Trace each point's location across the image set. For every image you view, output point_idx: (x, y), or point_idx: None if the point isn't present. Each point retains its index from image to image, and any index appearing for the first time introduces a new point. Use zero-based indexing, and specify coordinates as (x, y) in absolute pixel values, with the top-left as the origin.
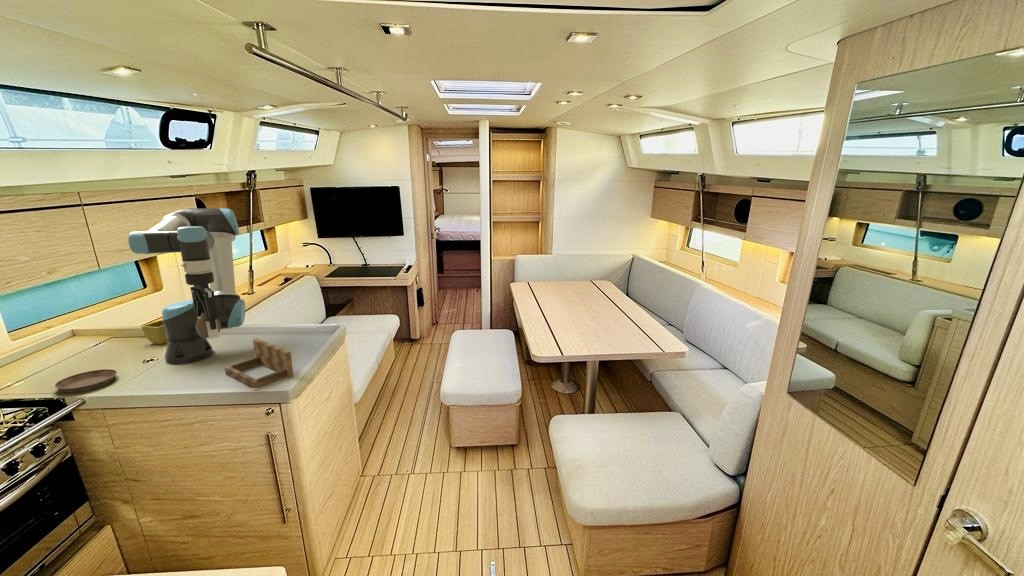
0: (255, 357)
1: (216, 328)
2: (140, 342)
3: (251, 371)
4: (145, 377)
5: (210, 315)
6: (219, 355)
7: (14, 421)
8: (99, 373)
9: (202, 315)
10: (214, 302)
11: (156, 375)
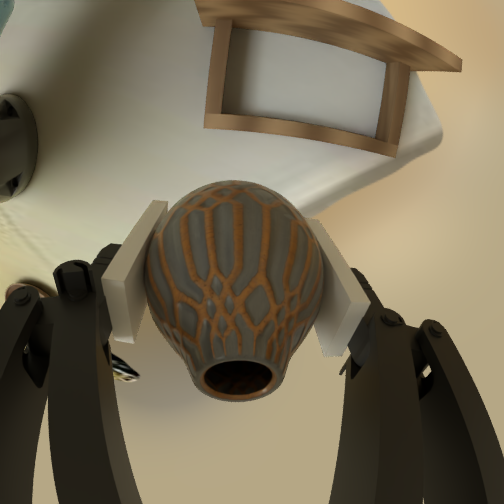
0: (219, 26)
1: (357, 270)
2: None
3: (261, 72)
4: (59, 252)
5: (426, 390)
6: (43, 84)
7: (122, 378)
8: (11, 292)
9: (252, 387)
10: (495, 458)
11: (62, 236)
